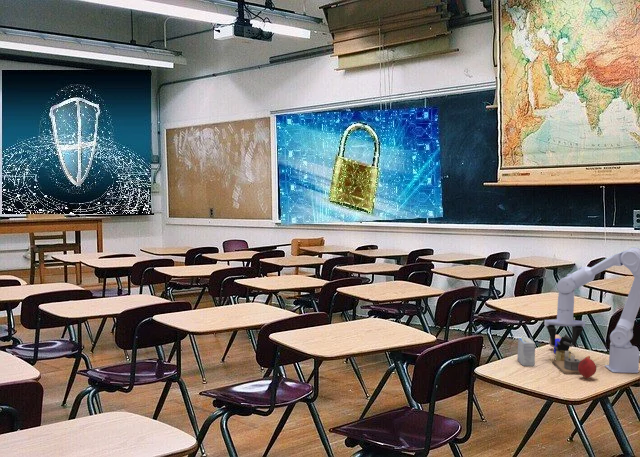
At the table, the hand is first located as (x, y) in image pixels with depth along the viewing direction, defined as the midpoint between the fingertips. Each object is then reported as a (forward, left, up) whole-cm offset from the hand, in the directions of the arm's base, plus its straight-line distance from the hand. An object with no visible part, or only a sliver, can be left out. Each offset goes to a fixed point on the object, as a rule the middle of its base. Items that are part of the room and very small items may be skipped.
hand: (563, 345), depth 276 cm
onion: (-1, +22, -6) cm, 23 cm away
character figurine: (-2, -10, -6) cm, 12 cm away
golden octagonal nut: (0, +1, -6) cm, 6 cm away
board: (0, +11, -6) cm, 12 cm away
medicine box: (+15, +5, -6) cm, 17 cm away
